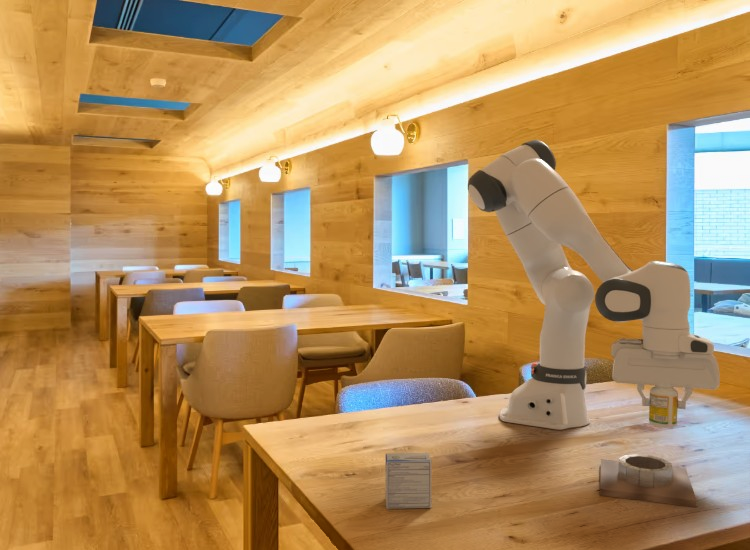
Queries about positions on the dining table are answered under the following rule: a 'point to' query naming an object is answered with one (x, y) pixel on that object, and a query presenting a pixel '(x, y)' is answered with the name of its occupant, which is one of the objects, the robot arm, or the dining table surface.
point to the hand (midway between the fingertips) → (663, 407)
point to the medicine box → (408, 480)
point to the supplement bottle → (663, 405)
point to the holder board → (646, 480)
